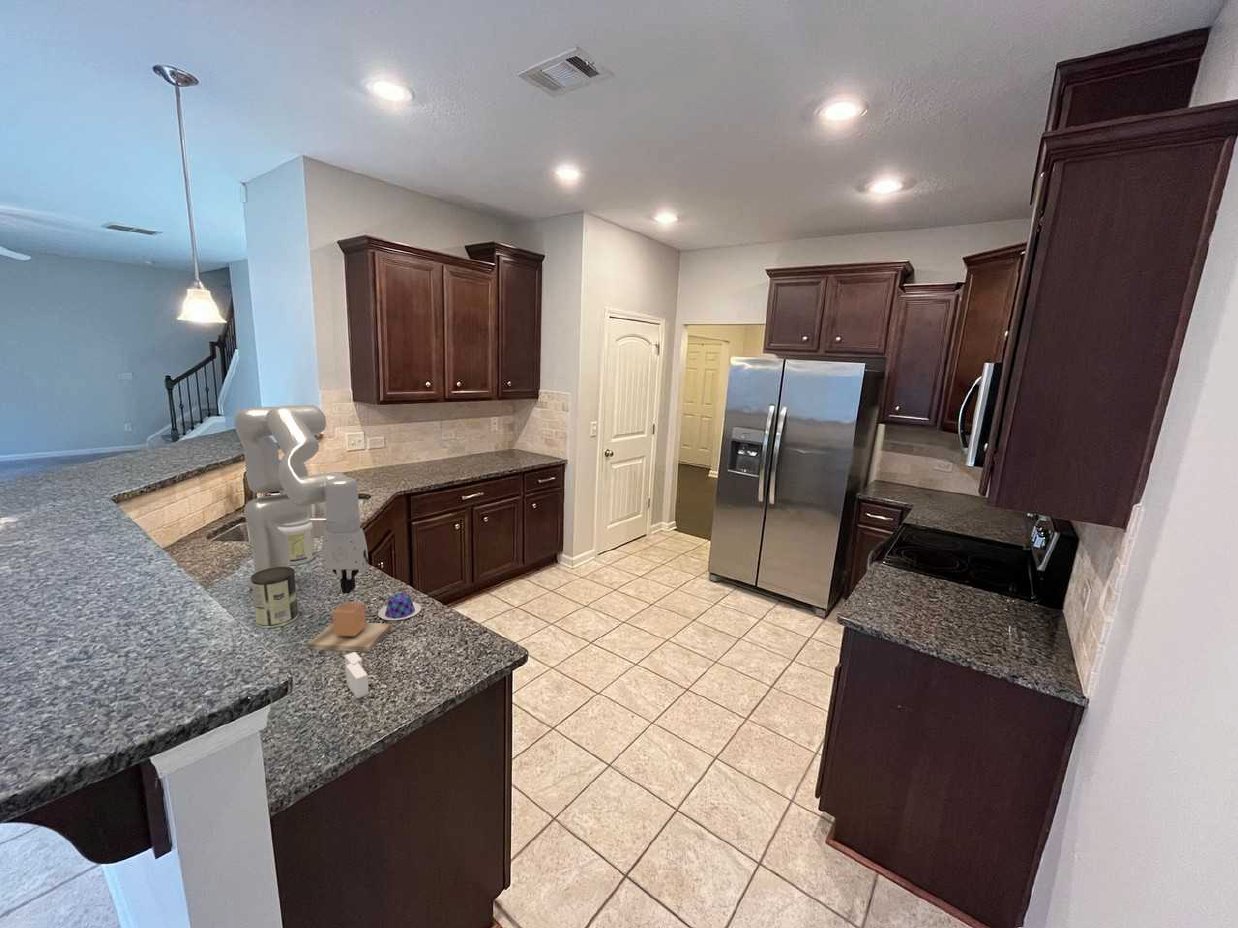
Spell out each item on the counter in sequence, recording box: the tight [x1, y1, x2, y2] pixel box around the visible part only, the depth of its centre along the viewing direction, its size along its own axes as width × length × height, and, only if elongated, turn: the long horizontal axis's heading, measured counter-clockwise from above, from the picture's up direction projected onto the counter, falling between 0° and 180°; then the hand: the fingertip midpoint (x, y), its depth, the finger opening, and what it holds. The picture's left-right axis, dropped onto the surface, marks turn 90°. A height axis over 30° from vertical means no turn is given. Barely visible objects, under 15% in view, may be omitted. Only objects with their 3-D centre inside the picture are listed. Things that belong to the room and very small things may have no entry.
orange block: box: [332, 601, 367, 636], centre depth 136 cm, size 6×6×7 cm
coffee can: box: [250, 567, 299, 629], centre depth 144 cm, size 10×10×14 cm
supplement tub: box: [278, 515, 316, 566], centre depth 187 cm, size 12×12×17 cm
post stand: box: [307, 622, 392, 653], centre depth 136 cm, size 16×12×8 cm
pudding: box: [377, 592, 422, 621], centre depth 152 cm, size 12×12×5 cm
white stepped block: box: [344, 651, 370, 699], centre depth 119 cm, size 15×11×6 cm
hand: (348, 591), depth 134 cm, fingers closed
